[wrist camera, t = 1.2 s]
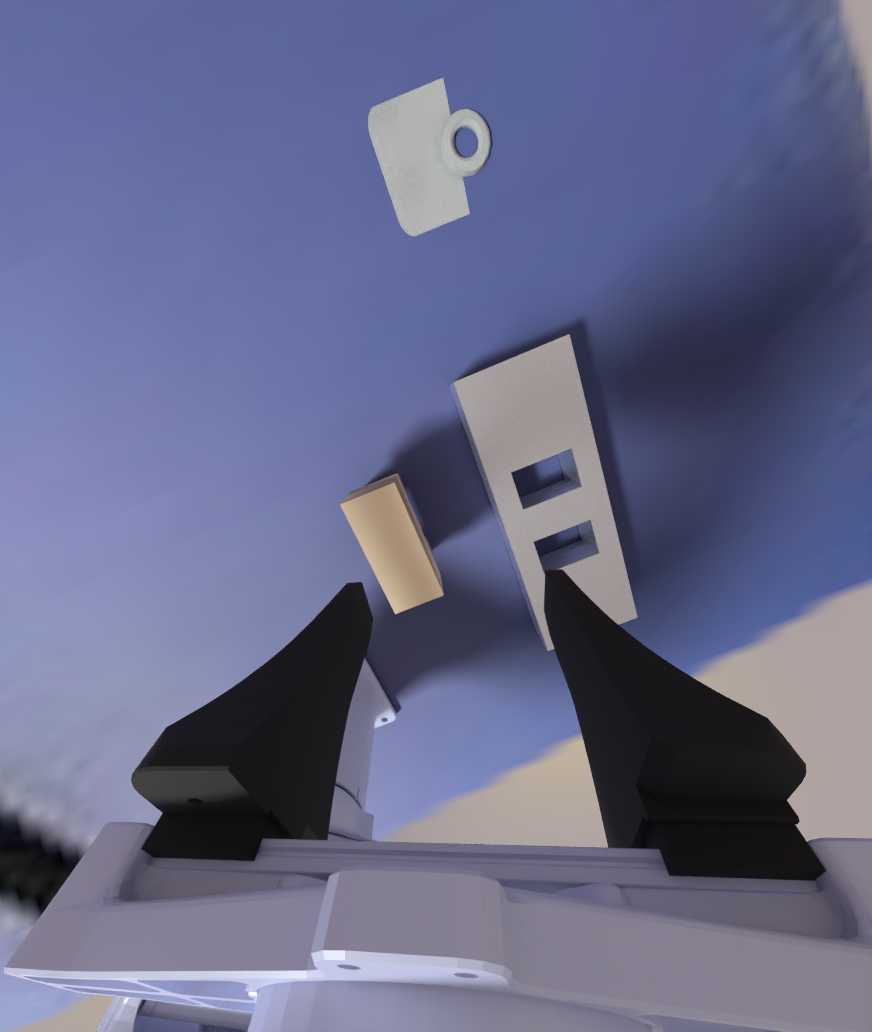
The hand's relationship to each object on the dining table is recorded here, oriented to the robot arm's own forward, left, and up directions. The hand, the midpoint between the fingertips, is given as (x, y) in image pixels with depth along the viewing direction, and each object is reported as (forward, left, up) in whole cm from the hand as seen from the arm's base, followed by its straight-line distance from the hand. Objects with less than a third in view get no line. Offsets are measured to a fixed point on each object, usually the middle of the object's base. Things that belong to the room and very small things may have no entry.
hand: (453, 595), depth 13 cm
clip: (-2, +1, -11) cm, 11 cm away
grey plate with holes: (+8, -2, -11) cm, 14 cm away
